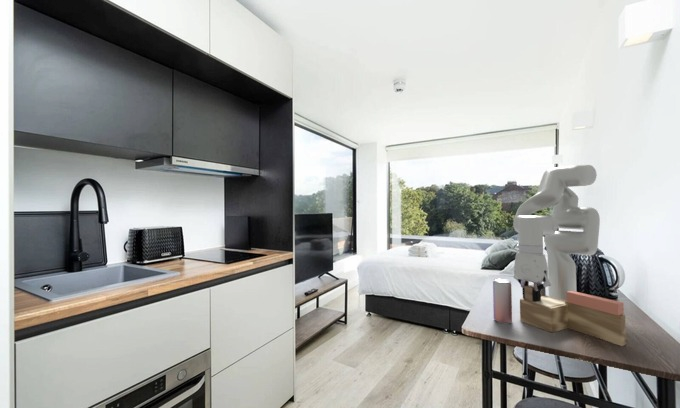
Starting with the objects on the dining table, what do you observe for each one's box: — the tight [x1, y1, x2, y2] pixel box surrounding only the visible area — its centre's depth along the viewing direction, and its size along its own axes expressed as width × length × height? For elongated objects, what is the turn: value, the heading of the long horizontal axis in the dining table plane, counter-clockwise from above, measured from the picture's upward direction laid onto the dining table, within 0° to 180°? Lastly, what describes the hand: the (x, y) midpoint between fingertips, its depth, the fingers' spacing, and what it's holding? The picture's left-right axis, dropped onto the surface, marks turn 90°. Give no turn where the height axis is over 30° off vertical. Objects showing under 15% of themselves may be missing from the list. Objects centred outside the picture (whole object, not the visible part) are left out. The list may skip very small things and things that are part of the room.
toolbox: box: [519, 287, 627, 347], centre depth 98 cm, size 13×26×12 cm, turn 23°
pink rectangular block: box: [567, 291, 625, 316], centre depth 94 cm, size 3×14×4 cm, turn 23°
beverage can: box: [492, 278, 513, 325], centre depth 107 cm, size 6×6×15 cm
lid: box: [524, 284, 565, 307], centre depth 104 cm, size 11×9×6 cm
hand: (531, 299), depth 106 cm, fingers open, 3 cm apart
